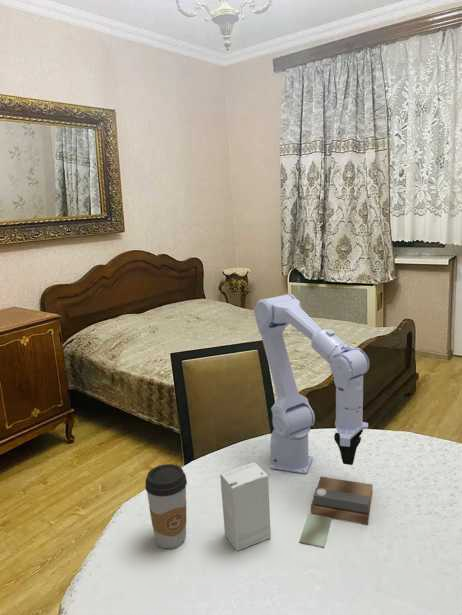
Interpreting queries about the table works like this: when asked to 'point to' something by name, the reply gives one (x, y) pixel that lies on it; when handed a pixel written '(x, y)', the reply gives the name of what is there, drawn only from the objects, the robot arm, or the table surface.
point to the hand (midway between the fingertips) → (348, 460)
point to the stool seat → (333, 511)
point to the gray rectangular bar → (341, 500)
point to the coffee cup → (167, 504)
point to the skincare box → (246, 505)
